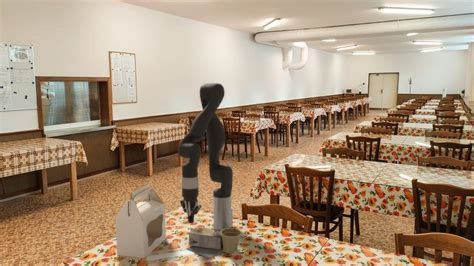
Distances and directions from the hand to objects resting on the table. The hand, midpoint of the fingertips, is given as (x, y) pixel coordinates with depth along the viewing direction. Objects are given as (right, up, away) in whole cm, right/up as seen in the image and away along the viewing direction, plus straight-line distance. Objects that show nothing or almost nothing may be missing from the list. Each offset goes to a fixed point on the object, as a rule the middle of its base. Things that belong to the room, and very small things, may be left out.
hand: (190, 222), depth 170 cm
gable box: (-22, -11, +1) cm, 25 cm away
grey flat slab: (+7, -12, -4) cm, 14 cm away
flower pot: (+18, -12, -4) cm, 22 cm away
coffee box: (0, -7, +3) cm, 8 cm away
